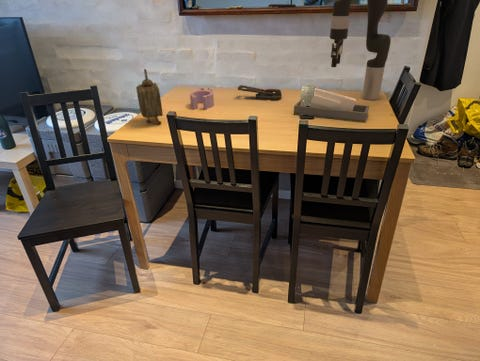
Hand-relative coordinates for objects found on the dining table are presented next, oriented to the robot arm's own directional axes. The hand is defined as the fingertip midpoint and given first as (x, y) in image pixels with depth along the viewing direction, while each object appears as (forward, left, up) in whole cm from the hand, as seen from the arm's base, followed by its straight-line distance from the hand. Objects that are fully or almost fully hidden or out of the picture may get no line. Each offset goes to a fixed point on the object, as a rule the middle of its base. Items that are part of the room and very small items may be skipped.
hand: (335, 65), depth 161 cm
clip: (+6, -69, -24) cm, 73 cm away
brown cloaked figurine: (+40, -78, -24) cm, 91 cm away
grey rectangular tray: (0, 0, -24) cm, 24 cm away
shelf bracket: (0, -2, -23) cm, 23 cm away
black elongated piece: (-15, -44, -24) cm, 52 cm away
